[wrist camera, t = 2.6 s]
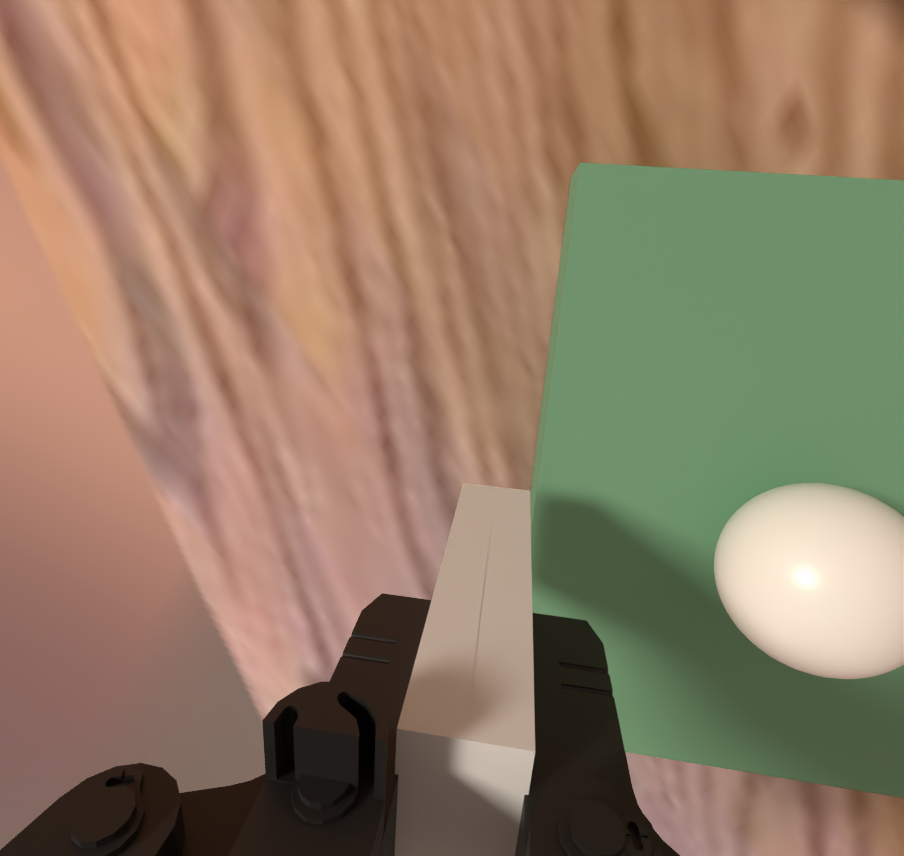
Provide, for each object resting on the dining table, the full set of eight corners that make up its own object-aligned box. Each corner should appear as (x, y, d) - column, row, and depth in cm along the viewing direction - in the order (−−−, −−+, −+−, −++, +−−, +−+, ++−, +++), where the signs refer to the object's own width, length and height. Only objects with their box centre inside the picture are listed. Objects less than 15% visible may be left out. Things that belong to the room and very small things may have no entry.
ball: (711, 446, 13) (788, 528, 9) (889, 465, 12) (1047, 559, 9) (677, 586, 14) (731, 708, 10) (836, 607, 14) (954, 743, 10)
